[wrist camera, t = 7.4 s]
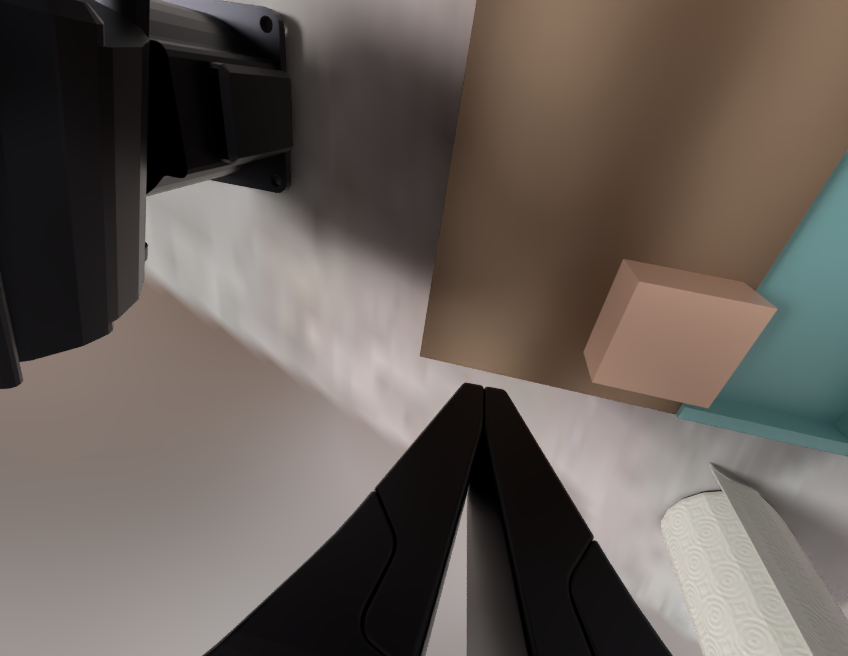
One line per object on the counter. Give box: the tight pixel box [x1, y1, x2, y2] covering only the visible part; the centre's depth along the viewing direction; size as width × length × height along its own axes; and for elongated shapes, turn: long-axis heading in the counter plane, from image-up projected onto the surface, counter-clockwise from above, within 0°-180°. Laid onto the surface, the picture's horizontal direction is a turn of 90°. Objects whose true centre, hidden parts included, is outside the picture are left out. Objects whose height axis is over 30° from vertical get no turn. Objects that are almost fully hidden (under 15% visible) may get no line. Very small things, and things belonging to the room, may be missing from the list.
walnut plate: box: [420, 0, 848, 414], centre depth 14 cm, size 11×16×3 cm
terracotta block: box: [584, 259, 777, 408], centre depth 14 cm, size 4×4×2 cm
